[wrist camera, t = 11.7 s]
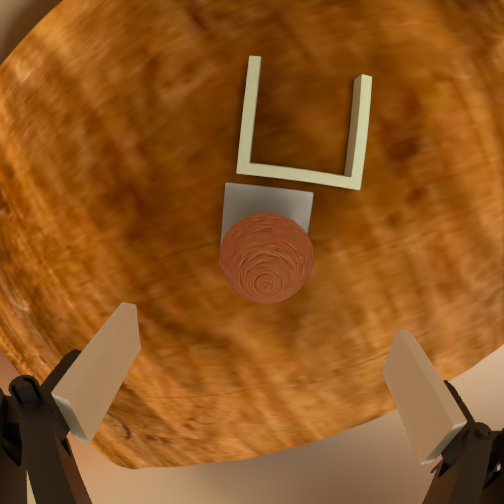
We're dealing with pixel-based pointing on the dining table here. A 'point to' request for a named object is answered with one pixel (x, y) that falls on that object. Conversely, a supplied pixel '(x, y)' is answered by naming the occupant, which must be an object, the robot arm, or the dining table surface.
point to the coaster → (264, 204)
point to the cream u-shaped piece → (347, 180)
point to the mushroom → (266, 257)
